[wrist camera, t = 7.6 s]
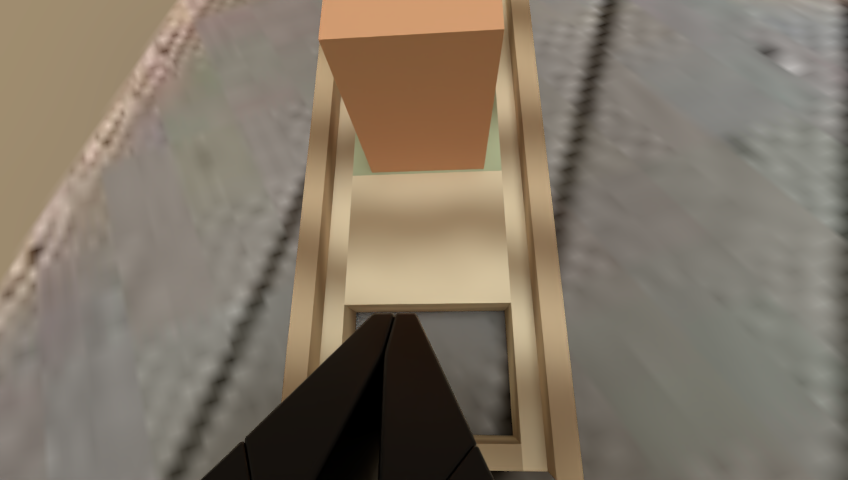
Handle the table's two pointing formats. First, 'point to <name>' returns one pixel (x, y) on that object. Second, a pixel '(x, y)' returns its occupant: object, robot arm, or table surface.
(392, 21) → the terracotta block
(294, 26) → the table surface
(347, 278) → the wooden compartment tray
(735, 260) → the table surface
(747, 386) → the table surface
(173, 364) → the table surface
